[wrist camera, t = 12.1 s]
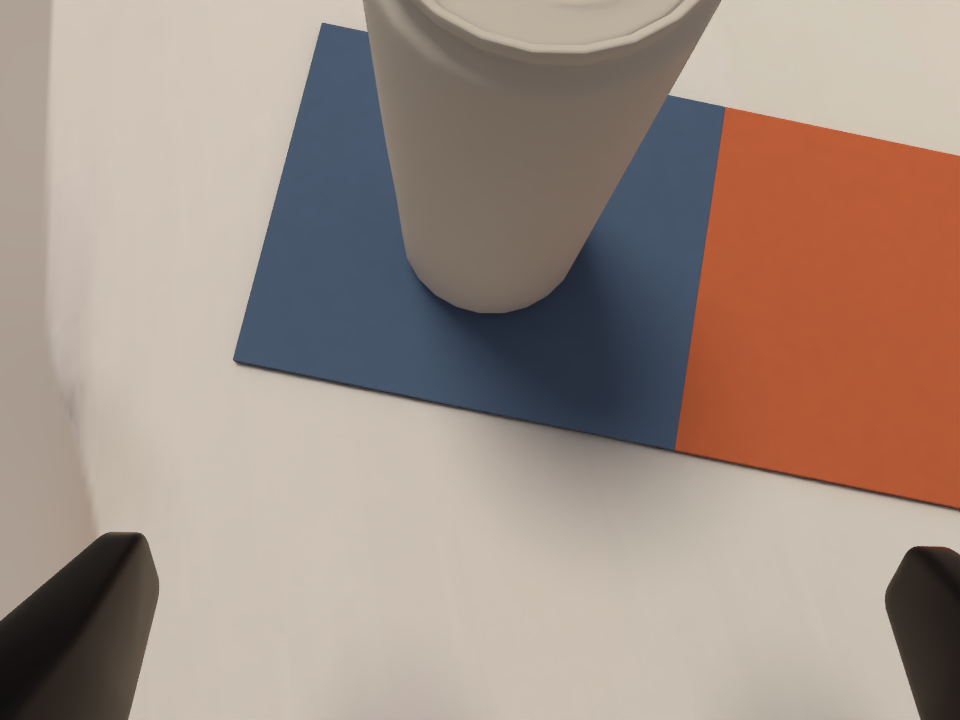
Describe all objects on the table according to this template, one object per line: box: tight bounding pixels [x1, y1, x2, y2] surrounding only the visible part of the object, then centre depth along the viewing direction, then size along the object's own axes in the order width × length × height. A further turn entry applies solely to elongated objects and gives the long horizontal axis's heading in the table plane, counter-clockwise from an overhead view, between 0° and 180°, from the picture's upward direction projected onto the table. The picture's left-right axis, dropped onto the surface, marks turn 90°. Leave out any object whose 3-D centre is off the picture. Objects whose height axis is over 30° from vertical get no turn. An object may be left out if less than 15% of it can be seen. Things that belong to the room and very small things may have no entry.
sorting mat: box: [233, 23, 960, 509], centre depth 21 cm, size 24×10×1 cm, turn 79°
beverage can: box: [363, 0, 721, 313], centre depth 15 cm, size 5×5×12 cm
